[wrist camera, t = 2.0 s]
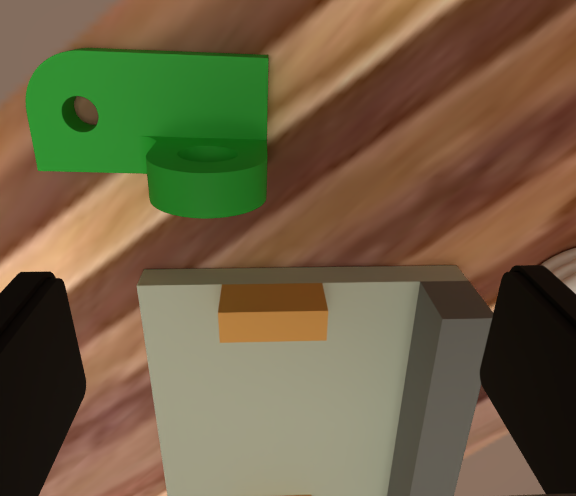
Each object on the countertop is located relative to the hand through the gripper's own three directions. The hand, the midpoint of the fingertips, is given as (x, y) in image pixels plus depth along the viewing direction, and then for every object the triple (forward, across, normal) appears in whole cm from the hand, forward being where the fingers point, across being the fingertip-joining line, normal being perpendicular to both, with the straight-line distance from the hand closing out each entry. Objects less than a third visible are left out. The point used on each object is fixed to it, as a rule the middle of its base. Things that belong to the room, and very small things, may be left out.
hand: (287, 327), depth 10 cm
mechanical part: (+19, +6, -1) cm, 20 cm away
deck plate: (+18, -2, +19) cm, 26 cm away
